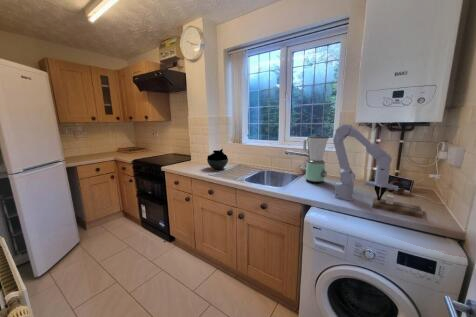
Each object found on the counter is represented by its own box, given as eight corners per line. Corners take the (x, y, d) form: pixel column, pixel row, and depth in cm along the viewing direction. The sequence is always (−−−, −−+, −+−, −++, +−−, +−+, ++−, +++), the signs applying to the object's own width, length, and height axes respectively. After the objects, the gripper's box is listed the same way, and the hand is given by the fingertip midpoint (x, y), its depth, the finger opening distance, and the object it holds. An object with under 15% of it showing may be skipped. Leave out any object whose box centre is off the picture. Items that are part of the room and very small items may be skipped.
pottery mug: (401, 191, 131) (407, 183, 126) (399, 201, 126) (406, 193, 120) (380, 183, 137) (385, 175, 132) (378, 193, 132) (383, 184, 126)
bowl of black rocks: (212, 172, 178) (211, 152, 174) (204, 168, 195) (203, 149, 191) (231, 169, 187) (231, 150, 183) (223, 165, 204) (222, 147, 201)
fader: (385, 204, 105) (386, 197, 105) (385, 200, 109) (386, 194, 109) (392, 205, 104) (393, 199, 103) (392, 202, 107) (393, 196, 107)
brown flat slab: (372, 207, 107) (372, 203, 106) (373, 200, 115) (374, 197, 115) (422, 218, 95) (422, 214, 94) (419, 210, 103) (420, 206, 103)
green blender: (329, 181, 150) (333, 135, 143) (321, 186, 141) (325, 136, 134) (305, 176, 163) (308, 134, 156) (297, 180, 154) (299, 135, 147)
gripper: (365, 175, 108) (362, 199, 110) (399, 180, 99) (395, 205, 102) (366, 172, 113) (364, 195, 116) (399, 177, 104) (395, 201, 107)
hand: (378, 199), depth 109 cm, fingers closed
